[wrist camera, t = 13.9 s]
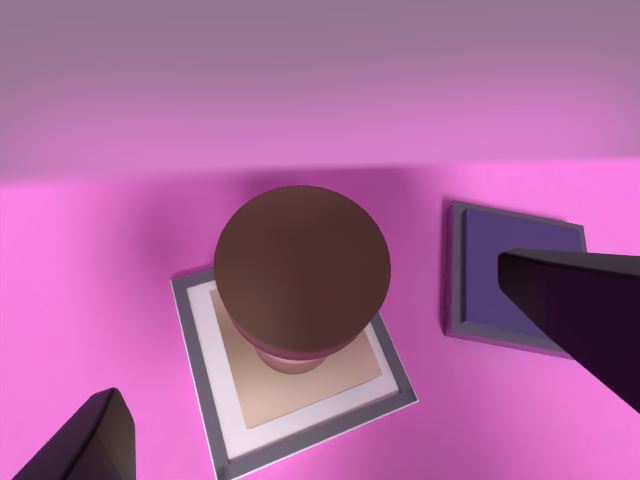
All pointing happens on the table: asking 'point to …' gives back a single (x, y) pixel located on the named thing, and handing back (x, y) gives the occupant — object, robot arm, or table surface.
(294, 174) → the table surface
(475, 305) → the ink pad
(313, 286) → the stamp
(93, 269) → the table surface
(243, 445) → the marked square
